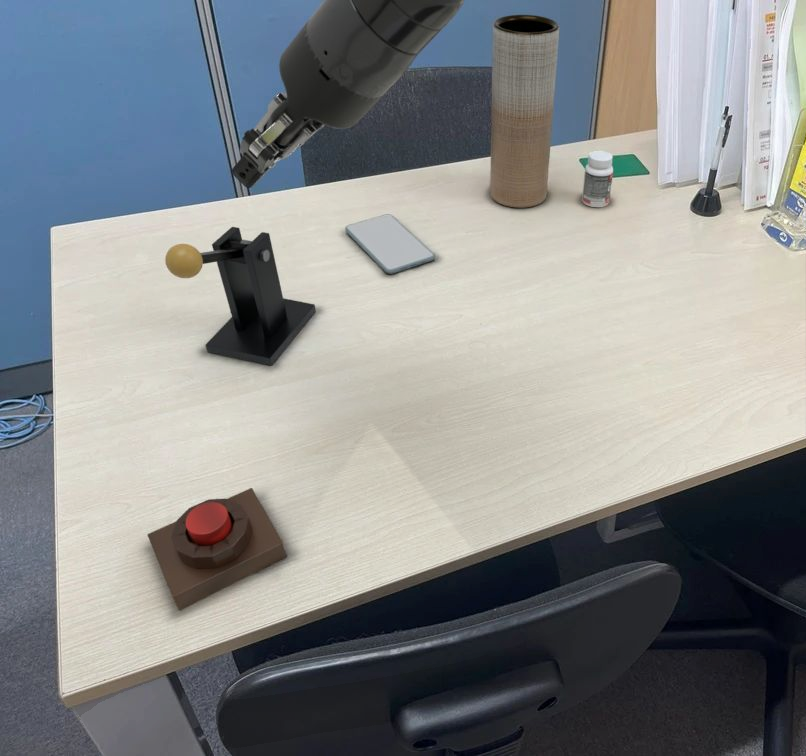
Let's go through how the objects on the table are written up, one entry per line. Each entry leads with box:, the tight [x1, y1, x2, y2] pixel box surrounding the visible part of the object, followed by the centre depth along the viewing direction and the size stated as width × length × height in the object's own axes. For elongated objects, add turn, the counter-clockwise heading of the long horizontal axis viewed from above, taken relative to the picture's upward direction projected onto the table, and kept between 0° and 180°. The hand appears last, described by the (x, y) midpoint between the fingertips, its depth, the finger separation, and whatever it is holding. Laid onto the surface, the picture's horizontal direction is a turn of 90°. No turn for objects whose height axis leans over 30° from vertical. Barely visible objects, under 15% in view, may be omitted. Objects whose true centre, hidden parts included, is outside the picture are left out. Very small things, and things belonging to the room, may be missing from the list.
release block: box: [147, 487, 288, 611], centre depth 65 cm, size 10×8×4 cm
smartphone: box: [344, 213, 436, 275], centre depth 109 cm, size 8×1×15 cm
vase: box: [489, 14, 560, 209], centre depth 114 cm, size 10×10×28 cm
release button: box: [185, 502, 232, 546], centre depth 64 cm, size 4×4×2 cm
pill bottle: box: [581, 150, 614, 208], centre depth 119 cm, size 5×5×8 cm
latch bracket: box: [205, 226, 317, 367], centre depth 88 cm, size 12×9×14 cm
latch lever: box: [164, 239, 253, 279], centre depth 79 cm, size 14×4×4 cm, turn 165°
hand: (243, 177), depth 65 cm, fingers closed
